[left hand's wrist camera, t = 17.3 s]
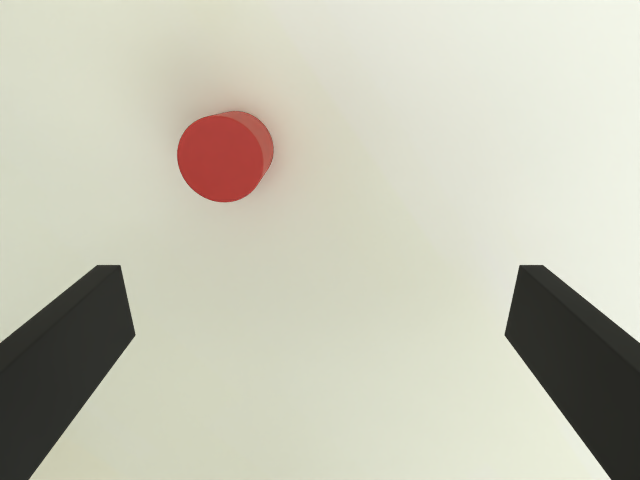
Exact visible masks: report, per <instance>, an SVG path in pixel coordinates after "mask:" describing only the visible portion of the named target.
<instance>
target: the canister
mask: <svg viewBox="0 0 640 480" xmlns="http://www.w3.org/2000/svg"><path fill="white" fill-rule="evenodd" d="M272 158H273V142H272V138H271V136H270V133H269V131H268V130H267V128H266V127H265V126H264V124H263V123H262V122H261V121H260V120H258V119H257V118H256V117H254V116H252V115H250V114H248V113H245V112H240V111H231V112H225V113H221V114H216V115H212V116H207V117H204V118H201V119H199V120H197V121H195V122H194V123H192V124H191V125H190V126H189V127H188V128H187V129H186V130H185V132H184V133H183V135H182V137H181V139H180V141H179V145H178V150H177V159H178V165H179V169H180V172H181V174H182V176H183V178H184V179H185V181H186V182H187V184H188V185H189V186H190V187H191V188H192V189H193V190H194V191H195V192H196V193H198V194H199V195H201V196H203V197H204V198H207V199H209V200H212V201H216V202H232V201H237V200H239V199H242V198H244V197H245V196H247V195H248V194H250V193H251V192H252V191H253V190H254V189H255V187H256V186H257V185H258V183H259V182H260V180H261V179H262V177H263V176H264V174H265V173H266V171H267V169H268V168H269V166H270V164H271V161H272Z"/></svg>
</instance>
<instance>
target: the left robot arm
mask: <svg viewBox="0 0 640 480" xmlns="http://www.w3.org/2000/svg"><path fill="white" fill-rule="evenodd" d="M134 337H135V331H134V326H133V321H132V317H131V312H130V308H129V303H128V298H127V294H126V289H125V284H124V280H123V275H122V271H121V266H120V265H97V266H95V267H94V268H93V269H92V270H90V271H89V272H88V273H87V274H85V275H84V276H83V277H82V278H81V279H79V280H78V281H77V282H76V283H74V284H73V285H72V286H71V287H69V288H68V289H67V290H66V291H64V292H63V293H62V294H61V295H59V296H58V297H57V298H56V299H54V300H53V301H52V302H51V303H49V304H48V305H47V306H46V307H45V308H43V309H42V310H41V311H40V312H38V313H37V314H36V315H35V316H33V317H32V318H31V319H30V320H28V321H27V322H26V323H25V324H23V325H22V326H21V327H20V328H18V329H17V330H16V331H15V332H13V333H12V334H11V335H10V336H9V337H7V338H6V339H5V340H4V341H2V342H1V343H0V480H29V479H30V477H31V476H32V474H33V473H34V472H35V470H36V469H37V468H38V466H39V465H40V464H41V462H42V461H43V460H44V458H45V457H46V456H47V454H48V453H49V451H50V450H51V449H52V447H53V446H54V445H55V443H56V442H57V441H58V439H59V438H60V437H61V435H62V434H63V433H64V431H65V430H66V428H67V427H68V426H69V424H70V423H71V422H72V420H73V419H74V418H75V416H76V415H77V414H78V412H79V411H80V410H81V408H82V407H83V405H84V404H85V403H86V401H87V400H88V399H89V397H90V396H91V395H92V393H93V392H94V391H95V389H96V388H97V387H98V385H99V384H100V382H101V381H102V380H103V378H104V377H105V376H106V374H107V373H108V372H109V370H110V369H111V368H112V366H113V365H114V364H115V362H116V361H117V359H118V358H119V357H120V355H121V354H122V353H123V351H124V350H125V349H126V347H127V346H128V345H129V343H130V342H131V341H132V339H133V338H134ZM505 337H506V338H507V339H508V341H509V342H510V343H511V345H512V346H513V347H514V349H515V350H516V351H517V353H518V354H519V355H520V357H521V358H522V359H523V361H524V362H525V364H526V365H527V366H528V368H529V369H530V370H531V372H532V373H533V374H534V376H535V377H536V378H537V380H538V381H539V382H540V384H541V385H542V387H543V388H544V389H545V391H546V392H547V393H548V395H549V396H550V397H551V399H552V400H553V401H554V403H555V404H556V405H557V407H558V408H559V410H560V411H561V412H562V414H563V415H564V416H565V418H566V419H567V420H568V422H569V423H570V424H571V426H572V427H573V428H574V430H575V431H576V433H577V434H578V435H579V437H580V438H581V439H582V441H583V442H584V443H585V445H586V446H587V447H588V449H589V450H590V451H591V453H592V454H593V456H594V457H595V458H596V460H597V461H598V462H599V464H600V465H601V466H602V468H603V469H604V470H605V472H606V473H607V474H608V476H609V477H610V479H611V480H640V343H639V342H638V341H636V340H635V339H634V338H633V337H631V336H630V335H629V334H628V333H627V332H625V331H624V330H623V329H622V328H620V327H619V326H618V325H617V324H615V323H614V322H613V321H612V320H610V319H609V318H608V317H607V316H605V315H604V314H603V313H602V312H600V311H599V310H598V309H597V308H595V307H594V306H593V305H592V304H591V303H589V302H588V301H587V300H586V299H584V298H583V297H582V296H581V295H579V294H578V293H577V292H576V291H574V290H573V289H572V288H571V287H569V286H568V285H567V284H566V283H564V282H563V281H562V280H561V279H559V278H558V277H557V276H556V275H555V274H553V273H552V272H551V271H550V270H548V269H547V268H546V267H545V266H543V265H520V266H519V271H518V275H517V280H516V284H515V289H514V294H513V298H512V303H511V308H510V312H509V317H508V321H507V326H506V331H505Z"/></svg>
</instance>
